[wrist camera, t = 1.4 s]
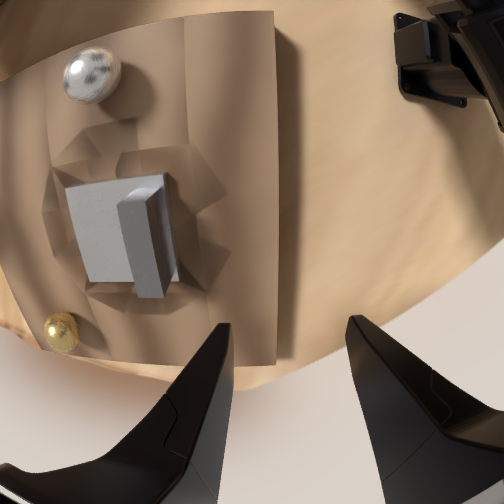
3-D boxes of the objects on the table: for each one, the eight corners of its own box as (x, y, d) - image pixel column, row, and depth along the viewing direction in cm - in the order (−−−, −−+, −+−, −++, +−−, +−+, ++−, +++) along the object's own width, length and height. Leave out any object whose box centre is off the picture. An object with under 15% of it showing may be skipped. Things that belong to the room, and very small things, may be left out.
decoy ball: (78, 303, 20) (60, 331, 17) (91, 335, 22) (77, 362, 19) (49, 302, 20) (30, 326, 17) (63, 331, 22) (48, 357, 19)
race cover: (166, 171, 16) (146, 187, 13) (181, 274, 19) (170, 307, 16) (71, 185, 16) (40, 202, 13) (94, 276, 19) (73, 304, 16)
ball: (130, 45, 12) (104, 32, 9) (132, 98, 14) (105, 96, 11) (81, 59, 12) (50, 54, 9) (83, 110, 14) (50, 113, 11)
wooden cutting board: (270, 23, 14) (273, 10, 12) (273, 345, 26) (275, 365, 23) (-13, 101, 14) (-31, 104, 12) (51, 335, 26) (41, 349, 23)
